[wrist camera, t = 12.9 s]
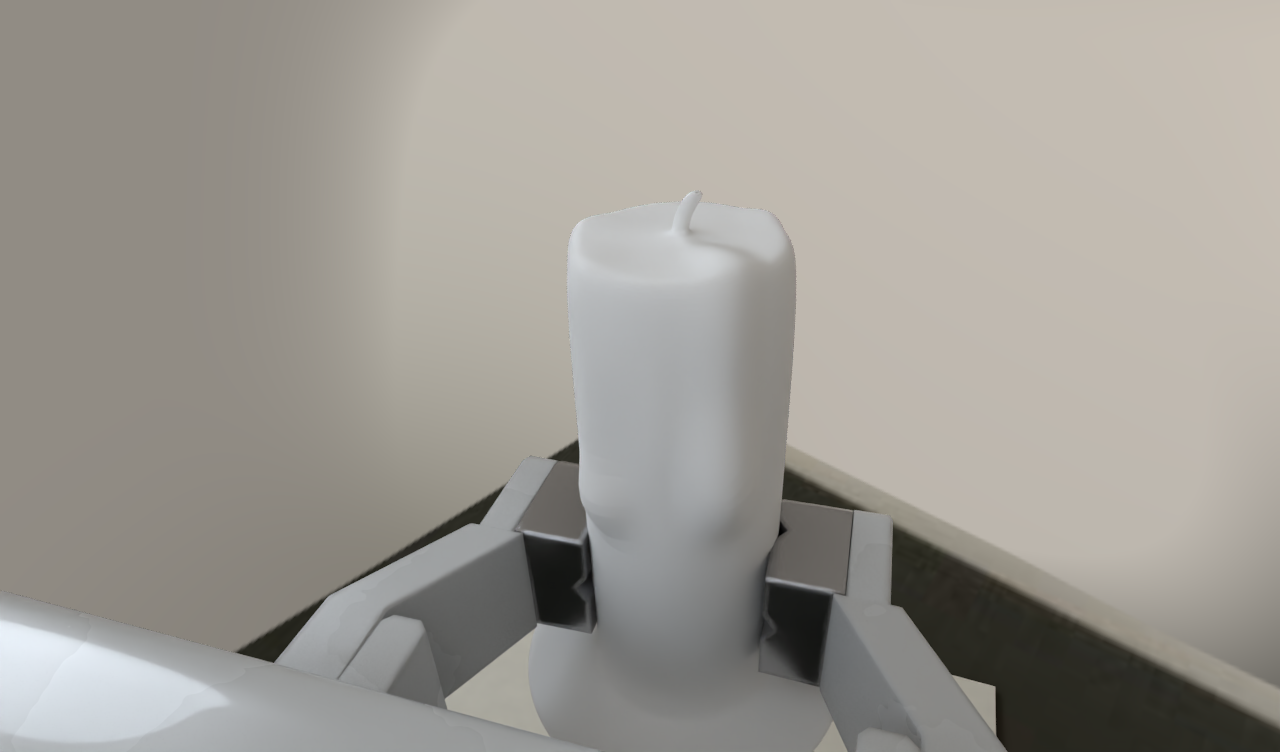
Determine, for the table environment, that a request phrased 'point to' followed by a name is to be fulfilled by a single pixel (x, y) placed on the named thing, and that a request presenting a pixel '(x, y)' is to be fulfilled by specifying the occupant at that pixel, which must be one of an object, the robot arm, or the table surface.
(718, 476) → the candle
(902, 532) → the table surface
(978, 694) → the sketch sheet
